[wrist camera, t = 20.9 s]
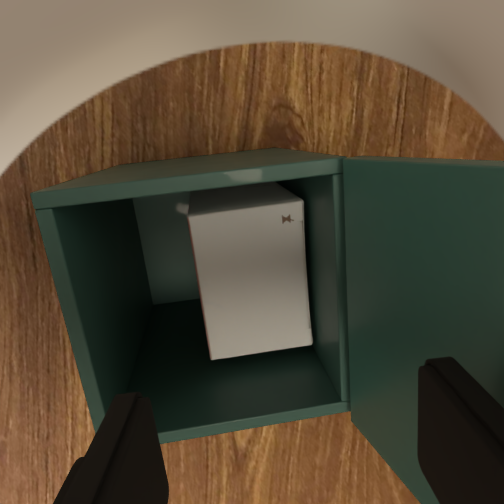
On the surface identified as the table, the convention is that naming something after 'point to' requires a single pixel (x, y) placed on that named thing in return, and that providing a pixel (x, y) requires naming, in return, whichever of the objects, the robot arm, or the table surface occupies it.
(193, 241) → the small box
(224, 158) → the bin
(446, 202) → the lid
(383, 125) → the table surface
